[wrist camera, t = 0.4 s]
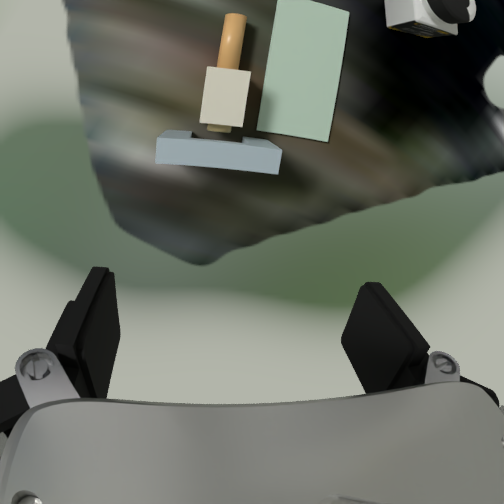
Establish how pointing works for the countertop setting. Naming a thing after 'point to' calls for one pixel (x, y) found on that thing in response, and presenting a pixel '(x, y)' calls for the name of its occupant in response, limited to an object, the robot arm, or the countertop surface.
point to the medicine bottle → (428, 16)
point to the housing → (218, 152)
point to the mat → (303, 69)
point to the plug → (226, 80)
